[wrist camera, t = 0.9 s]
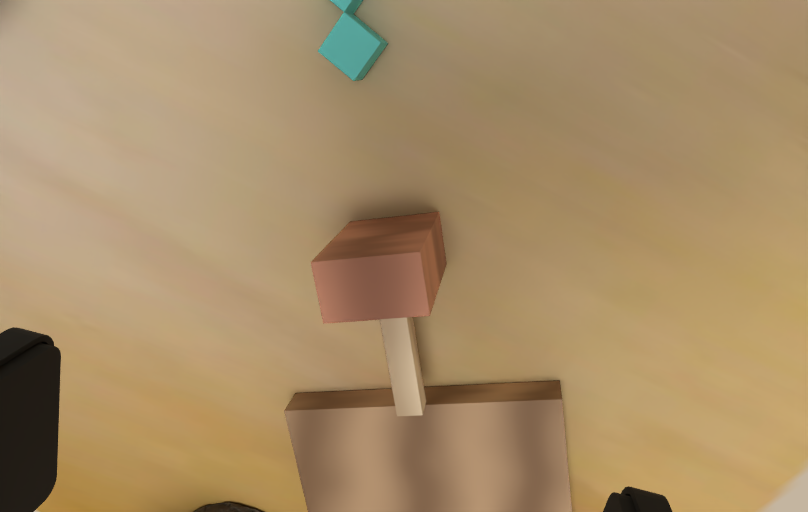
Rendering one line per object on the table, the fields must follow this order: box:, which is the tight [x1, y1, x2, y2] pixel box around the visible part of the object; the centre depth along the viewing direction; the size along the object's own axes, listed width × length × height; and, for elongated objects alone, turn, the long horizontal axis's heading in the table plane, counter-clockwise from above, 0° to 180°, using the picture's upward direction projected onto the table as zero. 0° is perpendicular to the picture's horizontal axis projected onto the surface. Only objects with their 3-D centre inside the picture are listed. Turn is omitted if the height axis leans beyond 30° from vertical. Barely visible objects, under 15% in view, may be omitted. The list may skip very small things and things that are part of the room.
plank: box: [284, 381, 572, 512], centre depth 37 cm, size 16×12×2 cm
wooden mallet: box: [311, 212, 446, 416], centre depth 32 cm, size 5×10×7 cm, turn 9°
